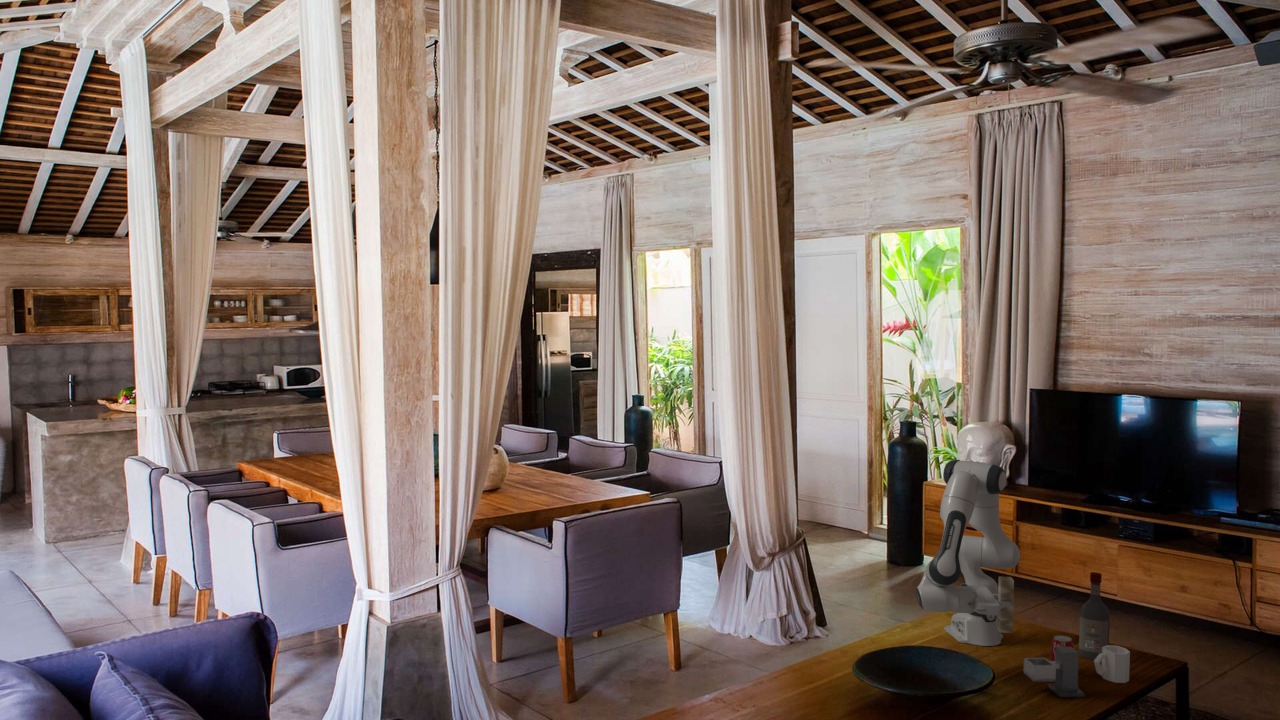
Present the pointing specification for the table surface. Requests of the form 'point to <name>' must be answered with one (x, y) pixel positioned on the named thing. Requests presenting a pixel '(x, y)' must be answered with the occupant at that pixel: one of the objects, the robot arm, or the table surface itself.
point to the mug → (1113, 664)
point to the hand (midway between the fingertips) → (1008, 601)
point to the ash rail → (1006, 613)
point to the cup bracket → (1056, 672)
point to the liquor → (1093, 622)
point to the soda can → (1060, 644)
